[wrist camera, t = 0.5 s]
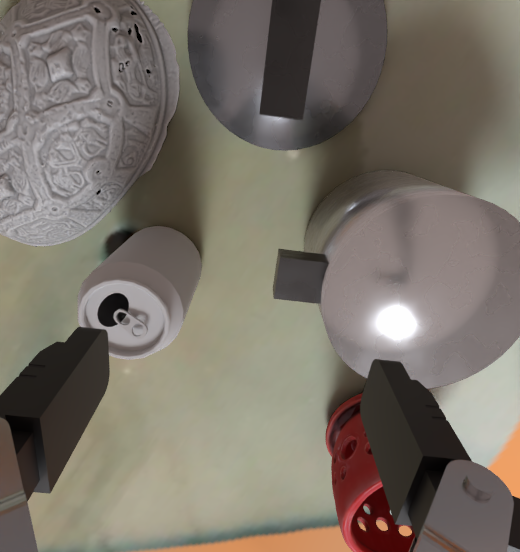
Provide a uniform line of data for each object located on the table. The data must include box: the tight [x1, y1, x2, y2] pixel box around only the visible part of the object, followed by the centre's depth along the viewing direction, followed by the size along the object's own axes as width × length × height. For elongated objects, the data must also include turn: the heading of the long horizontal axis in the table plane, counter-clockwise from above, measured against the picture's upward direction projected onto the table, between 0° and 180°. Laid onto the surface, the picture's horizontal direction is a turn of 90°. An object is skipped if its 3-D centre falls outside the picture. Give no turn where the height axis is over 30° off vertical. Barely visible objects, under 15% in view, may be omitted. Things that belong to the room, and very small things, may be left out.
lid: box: [188, 0, 387, 150], centre depth 27 cm, size 15×15×7 cm
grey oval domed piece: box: [0, 0, 180, 247], centre depth 30 cm, size 16×25×7 cm, turn 142°
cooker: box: [273, 170, 520, 389], centre depth 31 cm, size 14×20×12 cm
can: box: [78, 226, 202, 360], centre depth 31 cm, size 8×8×12 cm
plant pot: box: [326, 393, 415, 552], centre depth 39 cm, size 13×13×12 cm
